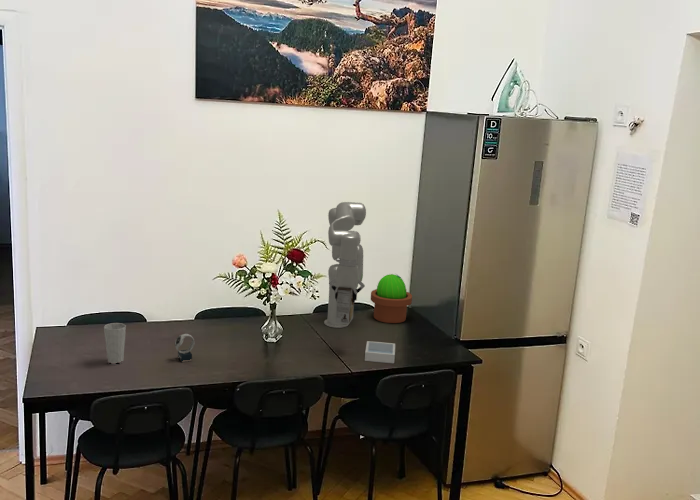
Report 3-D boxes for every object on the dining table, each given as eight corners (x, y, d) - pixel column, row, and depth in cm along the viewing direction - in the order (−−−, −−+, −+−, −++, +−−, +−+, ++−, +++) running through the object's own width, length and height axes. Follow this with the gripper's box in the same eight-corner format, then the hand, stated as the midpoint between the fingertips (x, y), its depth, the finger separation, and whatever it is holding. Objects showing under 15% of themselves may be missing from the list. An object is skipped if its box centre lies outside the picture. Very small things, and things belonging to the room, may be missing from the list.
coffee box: (339, 316, 282) (341, 282, 278) (353, 318, 281) (355, 284, 277) (335, 322, 273) (337, 288, 269) (349, 324, 272) (351, 289, 268)
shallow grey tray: (366, 349, 285) (367, 341, 285) (394, 351, 285) (395, 343, 284) (364, 360, 272) (365, 352, 271) (394, 363, 271) (394, 354, 270)
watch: (173, 358, 262) (173, 333, 259) (192, 355, 266) (192, 331, 263) (176, 363, 257) (176, 338, 255) (195, 360, 261) (196, 335, 259)
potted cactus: (370, 323, 321) (373, 277, 316) (368, 310, 343) (371, 267, 337) (412, 326, 322) (416, 279, 316) (407, 313, 343) (411, 269, 338)
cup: (114, 367, 249) (113, 331, 245) (99, 362, 253) (99, 326, 249) (131, 361, 256) (130, 325, 253) (116, 356, 260) (116, 321, 257)
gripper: (327, 262, 268) (325, 301, 272) (367, 266, 266) (364, 305, 270) (329, 258, 275) (327, 296, 279) (368, 261, 274) (365, 300, 278)
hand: (345, 300), depth 275 cm, fingers closed on coffee box, 6 cm apart
